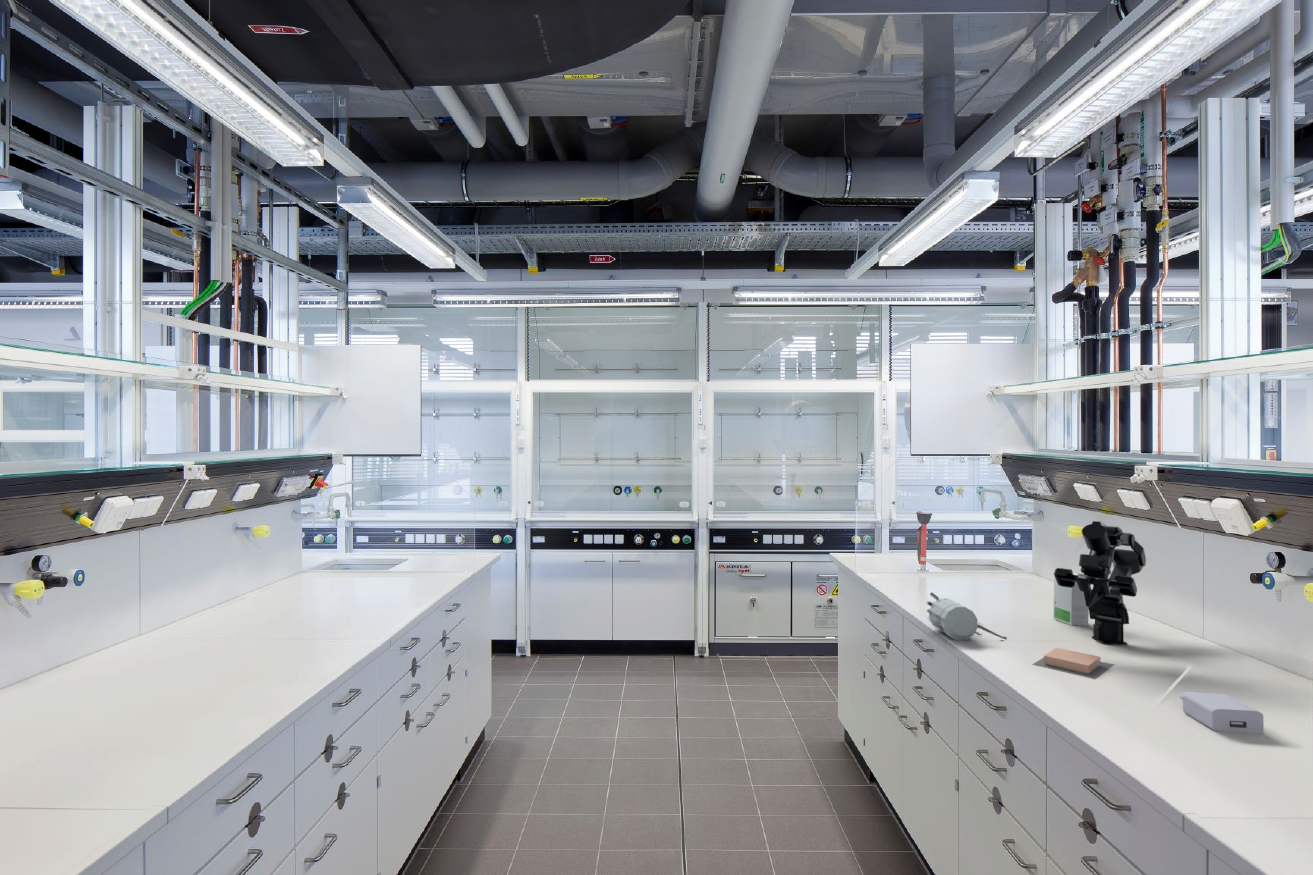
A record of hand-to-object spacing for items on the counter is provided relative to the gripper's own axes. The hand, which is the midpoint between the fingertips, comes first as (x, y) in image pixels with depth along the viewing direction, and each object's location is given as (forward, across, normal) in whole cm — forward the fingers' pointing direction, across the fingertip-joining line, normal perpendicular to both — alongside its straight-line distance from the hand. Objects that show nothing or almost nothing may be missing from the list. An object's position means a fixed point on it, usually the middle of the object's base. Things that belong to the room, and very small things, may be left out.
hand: (1087, 606), depth 174 cm
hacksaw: (+8, -27, +12) cm, 31 cm away
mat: (+19, 0, +1) cm, 19 cm away
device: (+12, -40, +8) cm, 42 cm away
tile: (+14, 0, +2) cm, 15 cm away
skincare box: (-15, -14, +34) cm, 40 cm away
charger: (+28, +29, -8) cm, 42 cm away
